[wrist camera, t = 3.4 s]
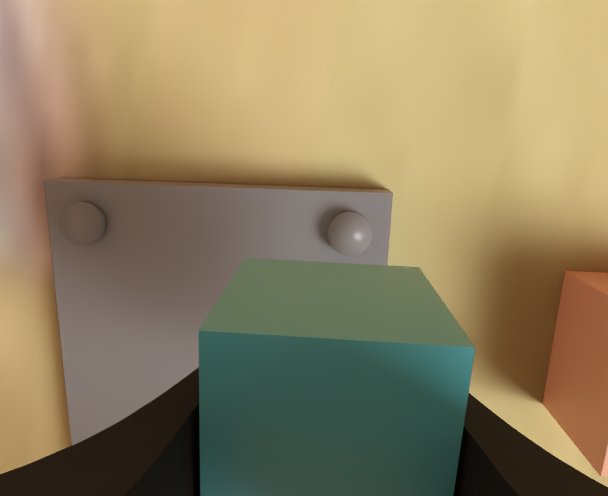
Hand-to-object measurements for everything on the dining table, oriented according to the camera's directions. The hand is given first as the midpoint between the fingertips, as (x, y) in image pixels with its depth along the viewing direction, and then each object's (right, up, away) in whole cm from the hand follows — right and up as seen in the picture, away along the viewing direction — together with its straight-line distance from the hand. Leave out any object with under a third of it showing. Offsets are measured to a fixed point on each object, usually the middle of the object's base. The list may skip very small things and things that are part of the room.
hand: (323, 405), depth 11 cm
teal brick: (0, +1, +1) cm, 2 cm away
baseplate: (-4, 0, +9) cm, 10 cm away
